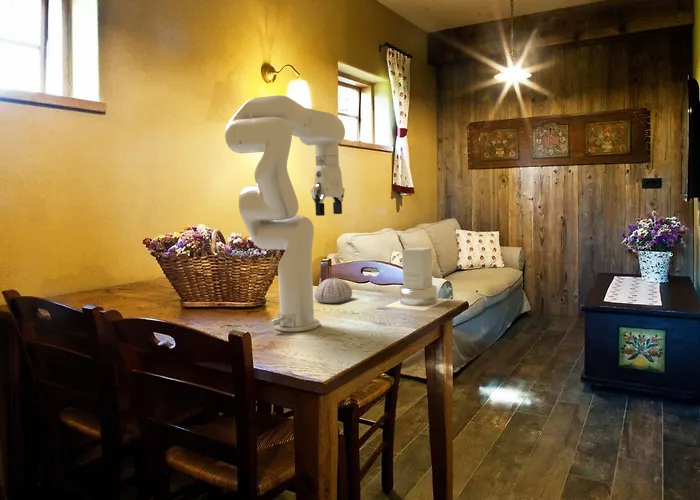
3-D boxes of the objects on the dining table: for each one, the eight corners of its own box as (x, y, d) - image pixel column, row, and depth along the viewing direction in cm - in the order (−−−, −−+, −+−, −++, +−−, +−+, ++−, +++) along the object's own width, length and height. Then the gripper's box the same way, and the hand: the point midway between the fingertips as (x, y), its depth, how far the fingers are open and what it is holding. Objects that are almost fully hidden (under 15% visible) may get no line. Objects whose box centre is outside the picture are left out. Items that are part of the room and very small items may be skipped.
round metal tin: (426, 307, 167) (426, 291, 166) (393, 304, 173) (392, 288, 173) (442, 300, 176) (442, 285, 176) (410, 297, 183) (410, 283, 183)
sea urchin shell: (342, 306, 178) (341, 282, 177) (306, 303, 184) (305, 280, 183) (358, 298, 190) (358, 276, 189) (325, 296, 196) (324, 274, 195)
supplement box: (433, 286, 175) (432, 247, 174) (422, 289, 169) (422, 250, 168) (412, 284, 180) (412, 247, 178) (402, 288, 173) (401, 249, 172)
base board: (424, 313, 163) (423, 310, 163) (384, 309, 171) (384, 306, 170) (448, 302, 178) (448, 299, 177) (410, 298, 185) (410, 296, 185)
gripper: (320, 160, 165) (322, 216, 167) (351, 162, 179) (353, 213, 181) (301, 162, 169) (303, 216, 171) (333, 163, 184) (335, 213, 185)
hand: (329, 214), depth 176 cm, fingers open, 9 cm apart
